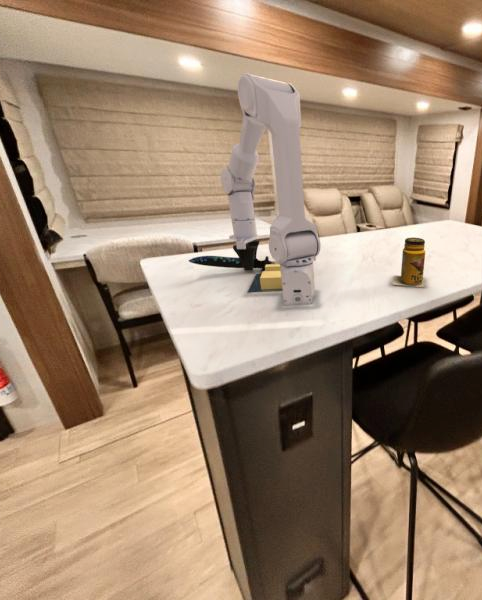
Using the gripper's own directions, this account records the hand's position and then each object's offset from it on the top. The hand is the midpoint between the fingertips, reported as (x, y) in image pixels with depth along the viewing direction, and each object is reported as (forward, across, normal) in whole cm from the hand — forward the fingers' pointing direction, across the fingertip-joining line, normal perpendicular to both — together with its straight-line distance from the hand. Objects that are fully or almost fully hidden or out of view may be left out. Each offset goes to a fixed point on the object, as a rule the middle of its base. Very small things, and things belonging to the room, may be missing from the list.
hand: (250, 268), depth 87 cm
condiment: (+2, +12, +43) cm, 45 cm away
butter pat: (+1, +6, +8) cm, 10 cm away
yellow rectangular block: (+1, +13, +8) cm, 15 cm away
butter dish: (+1, +10, +8) cm, 13 cm away
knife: (+1, 0, 0) cm, 1 cm away
